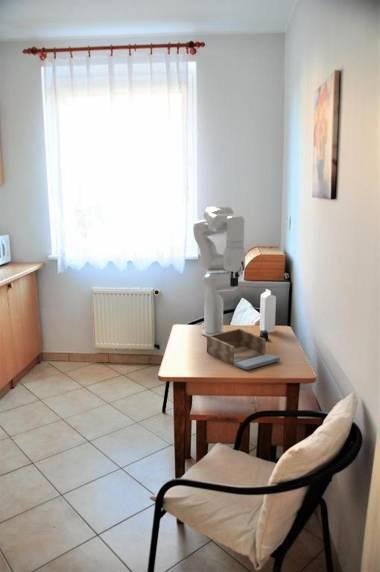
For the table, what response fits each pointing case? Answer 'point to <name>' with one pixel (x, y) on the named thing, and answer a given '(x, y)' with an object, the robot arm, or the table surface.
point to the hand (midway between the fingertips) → (234, 286)
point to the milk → (267, 311)
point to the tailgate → (256, 361)
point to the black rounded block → (264, 335)
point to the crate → (235, 345)
